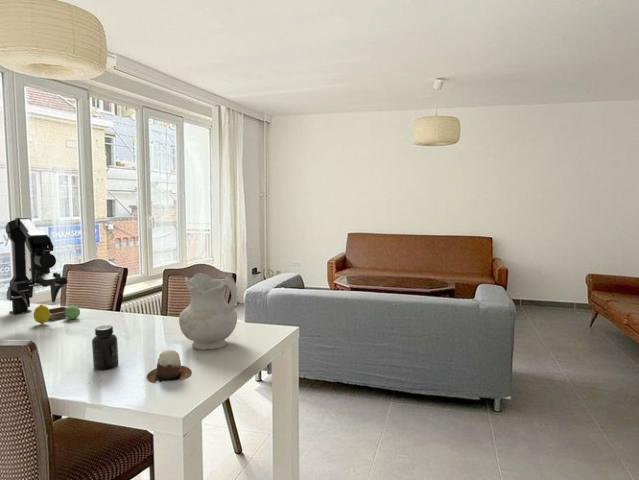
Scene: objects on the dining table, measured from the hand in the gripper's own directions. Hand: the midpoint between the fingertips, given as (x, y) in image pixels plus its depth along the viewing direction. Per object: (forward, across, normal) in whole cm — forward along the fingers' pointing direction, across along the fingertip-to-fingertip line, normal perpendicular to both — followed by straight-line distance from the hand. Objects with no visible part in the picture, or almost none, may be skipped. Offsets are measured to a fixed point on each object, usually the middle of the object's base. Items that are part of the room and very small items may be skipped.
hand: (41, 304), depth 180 cm
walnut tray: (+8, +10, +8) cm, 15 cm away
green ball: (+8, +11, -2) cm, 14 cm away
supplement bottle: (+8, -12, -64) cm, 66 cm away
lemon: (+8, 0, 0) cm, 8 cm away
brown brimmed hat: (+8, -6, -85) cm, 86 cm away
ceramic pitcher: (+8, +20, -75) cm, 78 cm away
